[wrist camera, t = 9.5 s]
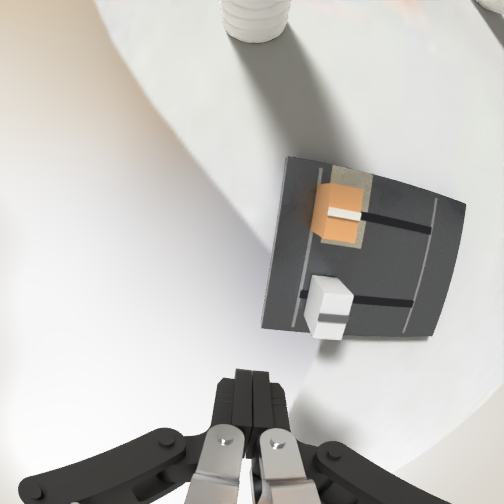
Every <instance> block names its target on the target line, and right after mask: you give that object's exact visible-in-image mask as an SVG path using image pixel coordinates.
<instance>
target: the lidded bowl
mask: <svg viewBox="0 0 504 504" xmlns="http://www.w3.org/2000/svg"><path fill="white" fill-rule="evenodd" d="M475 1H477V2H478V3H479V4H480V5H481V6H482V7H483V8H485V9H487V10H491V11H493V12H496V13H499V14H504V0H475Z"/></svg>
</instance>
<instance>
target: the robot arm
mask: <svg viewBox="0 0 504 504" xmlns="http://www.w3.org/2000/svg"><path fill="white" fill-rule="evenodd" d="M245 452H246V458H247V459H252V467H251V470H250V481H251V491H252V501H253V504H451V503H449V502H446V501H444V500H442V499H440V498H438V497H436V496H433V495H431V494H429V493H427V492H425V491H423V490H421V489H419V488H417V487H415V486H413V485H411V484H409V483H407V482H406V481H404V480H402V479H400V478H398V477H396V476H395V475H393V474H391V473H389V472H388V471H386V470H384V469H383V468H381V467H379V466H377V465H376V464H374V463H373V462H371V461H369V460H368V459H366V458H364V457H363V456H361V455H360V454H358V453H357V452H355V451H354V450H352V449H350V448H349V447H347V446H346V445H344V444H343V443H340V442H336V441H329V442H325V443H323V444H321V445H320V446H319V447H316V446H312V445H307V444H304V443H302V442H300V441H298V440H297V439H296V438H295V437H294V435H293V434H292V433H291V431H290V426H289V419H288V412H287V407H286V400H285V392H284V390H283V388H282V387H281V386H280V384H279V383H270V381H269V372H264V371H251V370H243V369H236V372H235V379H230V378H223V379H222V380H221V381H220V382H219V383H218V385H217V391H216V397H215V403H214V409H213V416H212V421H211V426H210V427H209V429H208V430H207V431H206V432H204V433H202V434H200V435H196V436H183V435H182V434H181V433H179V432H178V431H176V430H174V429H171V428H159V429H156V430H153V431H151V432H149V433H147V434H145V435H143V436H141V437H139V438H136V439H134V440H132V441H130V442H128V443H125V444H123V445H121V446H118V447H116V448H113V449H111V450H109V451H106V452H104V453H101V454H99V455H96V456H94V457H91V458H88V459H86V460H83V461H80V462H77V463H74V464H71V465H68V466H65V467H62V468H59V469H56V470H52V471H49V472H45V473H42V474H38V475H34V476H30V477H27V478H25V479H23V480H22V481H21V482H20V484H19V487H18V492H19V496H20V498H21V500H22V501H23V502H24V504H150V503H152V502H154V501H155V500H157V499H159V498H161V497H163V496H164V495H166V494H168V493H170V492H171V491H173V490H175V489H176V488H178V487H180V486H181V485H183V484H184V483H185V482H191V483H190V486H189V490H188V493H187V496H186V500H185V503H184V504H237V497H238V490H239V476H240V469H241V461H242V458H244V456H245Z"/></svg>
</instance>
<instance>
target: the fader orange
mask: <svg viewBox="0 0 504 504" xmlns="http://www.w3.org/2000/svg"><path fill="white" fill-rule="evenodd" d="M363 193H364V190H362V189H358V188H354V187H349V186H344V185H339V184H335V183H327V184H317V191H316V198H315V205H314V211H313V217H312V224H311V230H312V231H313V232H314V233H316V234H317V235H319V236H320V237H322V238H323V239H329V240H336V241H342V242H348V243H354V244H355V240H356V235H357V230H358V224H359V221H360V218H361V213H360V212H361V206H362V199H363Z"/></svg>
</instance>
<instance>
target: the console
mask: <svg viewBox="0 0 504 504" xmlns="http://www.w3.org/2000/svg"><path fill="white" fill-rule="evenodd" d="M327 183H335V184H339V185H344V186H349V187H354V188H358V189H362V190H364V193H363V199H362V206H361V212H360V213H361V218H360V221H359V224H358V230H357V235H356V240H355V244H354V243H348V242H342V241H336V240H329V239H323V238H322V237H320V236H319V235H317V234H316V233H314V232H313V231H312V230H311V224H312V217H313V211H314V205H315V198H316V191H317V184H327ZM465 210H466V204H465V203H462V202H460V201H457V200H454V199H451V198H449V197H446V196H443V195H440V194H437V193H434V192H431V191H428V190H425V189H422V188H419V187H416V186H413V185H409V184H406V183H403V182H399V181H396V180H392V179H389V178H385V177H381V176H377V175H374V174H370V173H366V172H362V171H358V170H354V169H350V168H345V167H341V166H336V165H331V164H326V163H321V162H316V161H311V160H306V159H300V158H295V157H289V156H288V157H287V158H286V162H285V169H284V176H283V183H282V190H281V197H280V204H279V211H278V217H277V224H276V231H275V237H274V244H273V250H272V257H271V263H270V269H269V275H268V282H267V288H266V294H265V300H264V306H263V312H262V318H261V328H265V329H274V330H284V331H296V332H308V333H311V332H310V330H309V327H308V325H307V322H306V320H305V317H304V311H305V306H306V302H307V297H308V293H309V288H310V283H311V278H312V275H317V276H325V277H334V278H338V279H339V280H340V281H341V282H342V283H343V284H344V285H345V286H346V287H347V289H348V290H349V291H350V292H351V293H352V294H353V295H354V297H353V301H352V305H351V309H350V312H349V320H348V323H346V326H345V329H344V333H343V335H357V336H432V335H433V333H434V330H435V328H436V325H437V322H438V319H439V317H440V314H441V311H442V308H443V305H444V302H445V299H446V295H447V292H448V289H449V285H450V282H451V278H452V274H453V271H454V267H455V263H456V258H457V254H458V249H459V245H460V240H461V235H462V229H463V223H464V217H465Z"/></svg>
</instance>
